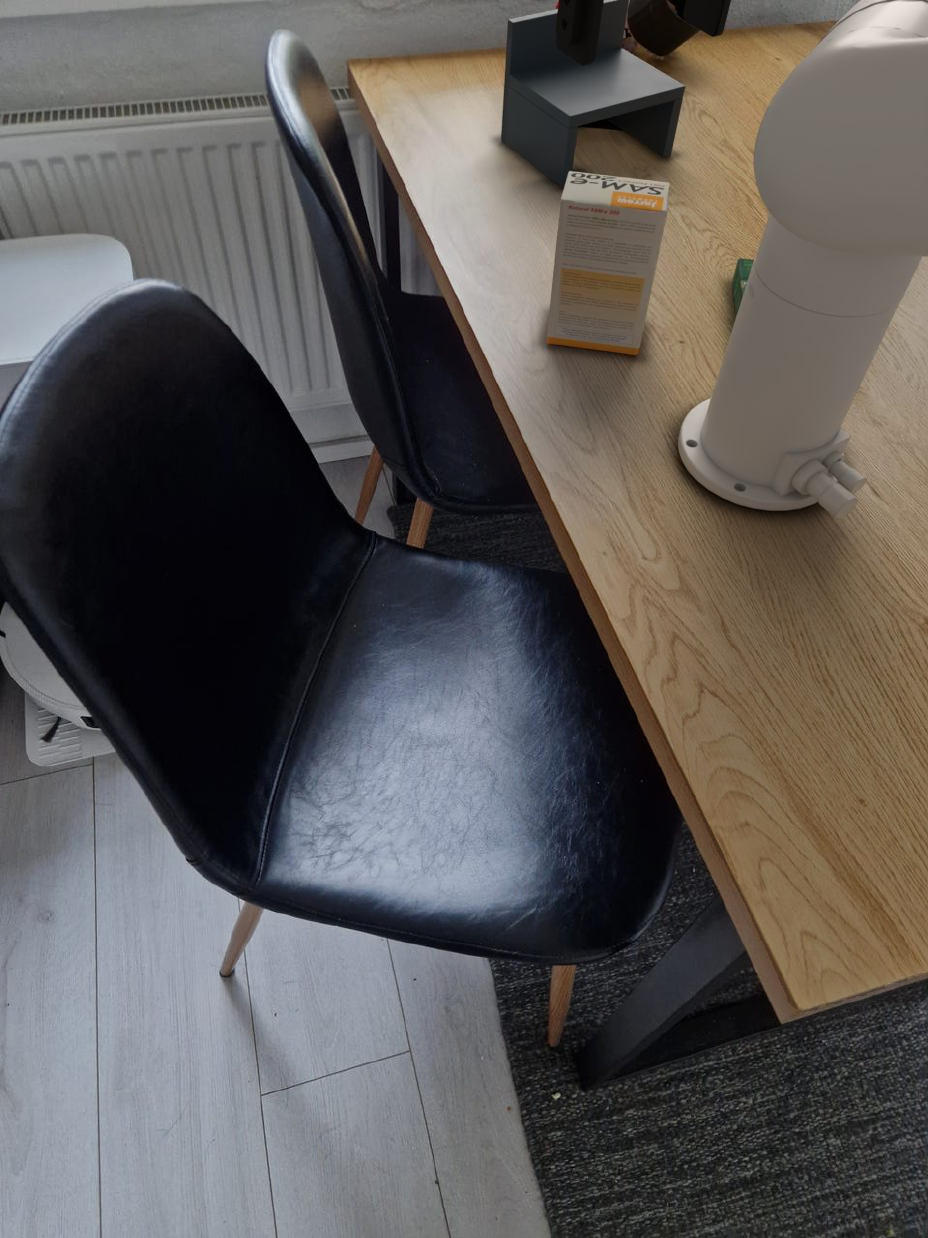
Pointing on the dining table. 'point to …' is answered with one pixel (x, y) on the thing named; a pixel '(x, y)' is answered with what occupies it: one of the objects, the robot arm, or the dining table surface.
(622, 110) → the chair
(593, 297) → the supplement box
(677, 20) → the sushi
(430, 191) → the dining table surface
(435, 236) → the dining table surface
